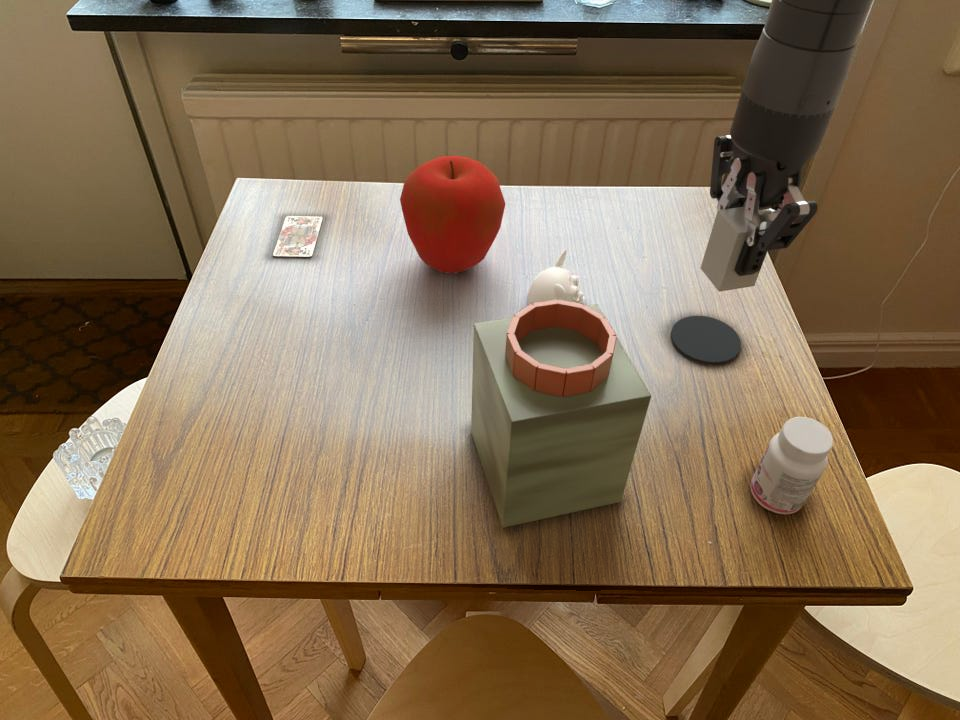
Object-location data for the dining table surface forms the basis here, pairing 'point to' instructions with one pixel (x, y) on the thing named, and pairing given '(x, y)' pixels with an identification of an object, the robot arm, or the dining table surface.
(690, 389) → the dining table surface
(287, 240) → the playing card
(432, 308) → the dining table surface
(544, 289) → the figurine
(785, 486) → the pill bottle
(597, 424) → the stand
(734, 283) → the block
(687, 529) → the dining table surface
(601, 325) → the segmented terracotta ring
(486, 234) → the apple
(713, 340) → the coaster
